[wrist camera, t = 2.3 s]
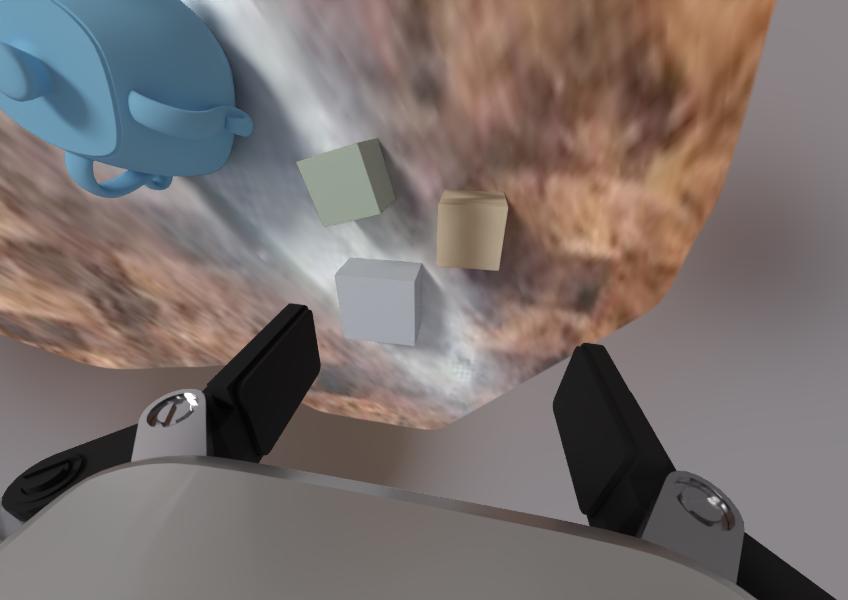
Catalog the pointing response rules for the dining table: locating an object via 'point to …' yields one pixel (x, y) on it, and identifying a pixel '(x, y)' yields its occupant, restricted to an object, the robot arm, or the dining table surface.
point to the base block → (380, 300)
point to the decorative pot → (120, 88)
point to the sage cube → (348, 182)
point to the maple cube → (471, 229)
